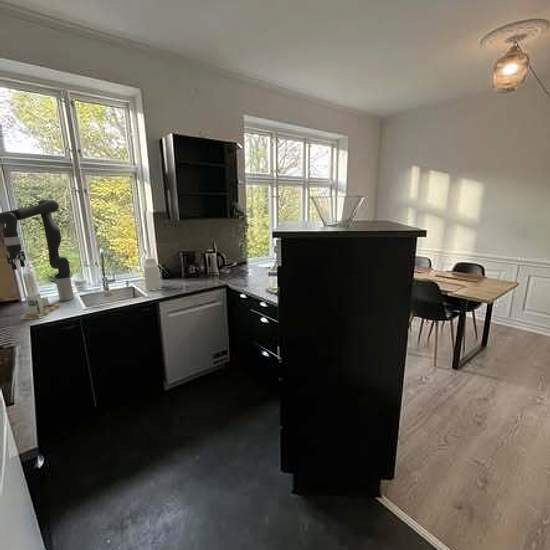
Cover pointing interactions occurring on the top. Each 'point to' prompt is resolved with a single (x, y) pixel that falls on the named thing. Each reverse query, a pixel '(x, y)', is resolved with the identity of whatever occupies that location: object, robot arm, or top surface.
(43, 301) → the steel pin
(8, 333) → the top surface
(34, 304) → the syrup box
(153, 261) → the milk
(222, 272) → the top surface
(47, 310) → the hole bar
